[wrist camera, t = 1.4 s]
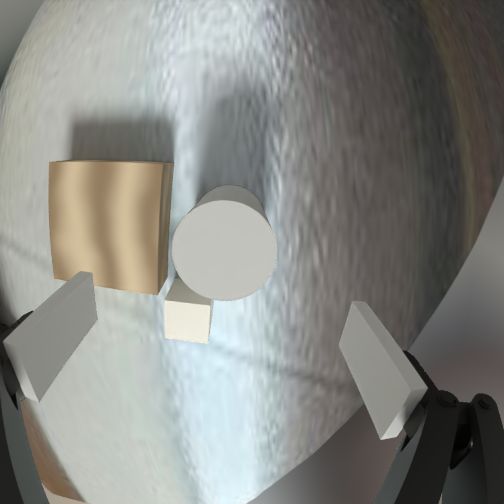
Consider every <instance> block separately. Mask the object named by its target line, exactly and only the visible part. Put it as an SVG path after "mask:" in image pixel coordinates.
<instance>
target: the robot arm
mask: <svg viewBox="0 0 504 504" xmlns="http://www.w3.org/2000/svg"><path fill="white" fill-rule="evenodd" d="M97 320H98V318H97V311H96V303H95V294H94V284H93V273H90V272H84V271H79V272H78V273H77V274H76V275H75V276H73V277H72V278H71V279H70V280H69V281H68V282H66V283H65V284H64V285H63V286H62V287H61V288H59V289H58V290H57V291H56V292H55V293H54V294H53V295H51V296H50V297H49V298H48V299H47V300H46V301H45V302H44V303H42V304H41V305H40V306H39V307H38V308H37V309H36V310H35V311H31V312H29V313H27V314H25V315H23V316H22V317H21V318H20V319H18V320H17V322H16V323H14V324H13V325H12V326H11V327H10V328H9V327H8V326H5V325H2V324H0V504H49V502H48V499H47V497H46V494H45V492H44V489H43V486H42V484H41V481H40V478H39V475H38V472H37V469H36V466H35V463H34V460H33V456H32V453H31V449H30V446H29V442H28V438H27V434H26V430H25V425H24V421H23V416H22V411H21V406H20V401H22V400H23V399H25V398H26V397H27V398H30V399H32V400H34V401H37V402H40V401H41V399H42V397H43V396H44V394H45V393H46V391H47V390H48V388H49V387H50V385H51V384H52V382H53V381H54V379H55V378H56V376H57V375H58V373H59V372H60V371H61V369H62V368H63V366H64V365H65V363H66V362H67V361H68V359H69V358H70V356H71V355H72V353H73V352H74V351H75V349H76V348H77V347H78V345H79V344H80V342H81V341H82V340H83V338H84V337H85V336H86V334H87V333H88V332H89V330H90V329H91V328H92V326H93V325H94V324H95V322H96V321H97ZM339 347H340V350H341V352H342V354H343V356H344V358H345V360H346V363H347V365H348V367H349V369H350V371H351V373H352V376H353V378H354V380H355V382H356V384H357V387H358V389H359V391H360V393H361V396H362V398H363V400H364V402H365V405H366V407H367V409H368V412H369V414H370V416H371V418H372V421H373V423H374V425H375V428H376V430H377V432H378V435H379V437H380V439H387V438H392V437H397V435H398V434H399V432H400V431H401V430H402V428H403V427H404V429H405V431H406V433H407V434H406V435H405V437H404V438H403V439H402V441H401V442H400V443H399V445H398V446H397V447H396V449H395V450H396V451H397V450H398V449H399V450H398V452H397V454H396V457H395V459H394V461H393V463H392V465H391V468H390V470H389V472H388V474H387V476H386V478H385V480H384V482H383V484H382V486H381V488H380V490H379V492H378V494H377V496H376V498H375V500H374V501H373V503H372V504H438V503H439V500H440V497H441V494H442V504H504V429H503V425H502V421H501V418H500V414H499V411H498V407H497V404H496V402H495V401H494V400H493V399H492V397H490V396H489V395H486V394H483V393H482V394H480V393H479V394H476V395H475V397H474V398H473V399H472V401H471V402H470V403H467V402H459V401H458V399H457V398H456V397H455V396H454V395H453V394H452V393H450V392H448V391H443V390H438V389H437V388H436V386H435V385H434V383H433V382H432V380H431V379H430V378H429V376H428V375H427V374H426V372H424V369H423V368H422V367H421V366H420V364H419V362H418V361H417V360H416V359H415V357H414V356H412V355H411V354H410V353H409V352H407V351H402V350H401V349H400V347H399V346H398V345H397V343H396V342H395V341H394V339H393V338H392V336H391V335H390V334H389V332H388V331H387V330H386V328H385V327H384V326H383V324H382V323H381V322H380V320H379V319H378V318H377V316H376V315H375V314H374V312H373V311H372V310H371V308H370V307H369V306H368V305H367V303H366V302H360V301H352V304H351V307H350V311H349V314H348V317H347V321H346V324H345V327H344V330H343V333H342V336H341V340H340V343H339ZM472 442H473V445H472V447H471V443H472Z"/></svg>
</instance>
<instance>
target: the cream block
mask: <svg viewBox="0 0 504 504" xmlns="http://www.w3.org/2000/svg"><path fill="white" fill-rule="evenodd" d="M164 309H165V338H169V339H176V340H183V341H191V342H199V343H208V340H209V334H210V327H211V321H212V311H213V299H209V298H206V297H204V296H201V295H199V294H198V293H196V292H194V291H193V290H192V289H190V288H189V287H188V286H187V285H186V284H185V283H184V282H183V280H182V279H179V278H175V280H174V282H173V284H172V286H171V288H170V290H169V292H168V294H167V296H166V298H165V300H164Z"/></svg>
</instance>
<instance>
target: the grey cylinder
mask: <svg viewBox="0 0 504 504" xmlns="http://www.w3.org/2000/svg"><path fill="white" fill-rule="evenodd" d="M172 258H173V263H174V266H175V269H176V271H177V273H178V275H179V276H180V278H181V279H182V280H183V282H184V283H185V284H186V285H187V286H188V287H189V288H190V289H192V290H193V291H194V292H196V293H198V294H199V295H201V296H204V297H206V298H209V299H213V300H219V301H232V300H237V299H241V298H244V297H247V296H249V295H251V294H253V293H254V292H256V291H257V290H258V289H260V288H261V287H262V286H263V285H264V284H265V283H266V281H267V280H268V279H269V277H270V276H271V274H272V272H273V270H274V267H275V264H276V259H277V244H276V239H275V236H274V233H273V231H272V228H271V226H270V224H269V221H268V219H267V217H266V214H265V212H264V210H263V207H262V205H261V203H260V201H259V200H258V199H257V197H256V196H255V195H254V194H253V193H251V192H250V191H249V190H247V189H245V188H243V187H240V186H236V185H223V186H219V187H216V188H214V189H212V190H210V191H209V192H207V193H206V194H205V195H204V196H203V197H202V198H201V199H200V200H199V202H198V203H197V204H196V205H195V206H194V207H193V208H192V209H191V210H190V212H189V213H188V214H187V215H186V216H185V217H184V218H183V219H182V221H181V222H180V224H179V225H178V227H177V229H176V231H175V234H174V237H173V241H172Z"/></svg>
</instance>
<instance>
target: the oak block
mask: <svg viewBox="0 0 504 504" xmlns="http://www.w3.org/2000/svg"><path fill="white" fill-rule="evenodd" d="M173 168H174V163H168V162H151V161H126V160H66V161H56V162H49V226H50V242H51V253H52V263H53V271H54V278H55V279H60V280H65V281H69V280H70V279H71V278H72V277H73V276H75V275H76V274H77V273H78V272H79V271H84V272H90V273H93V284H94V286H100V287H106V288H112V289H118V290H125V291H132V292H139V293H146V294H153V295H158V294H159V292H160V290H161V288H162V286H163V284H164V283H165V281H166V279H167V273H168V241H169V221H170V205H171V191H172V179H173Z"/></svg>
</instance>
